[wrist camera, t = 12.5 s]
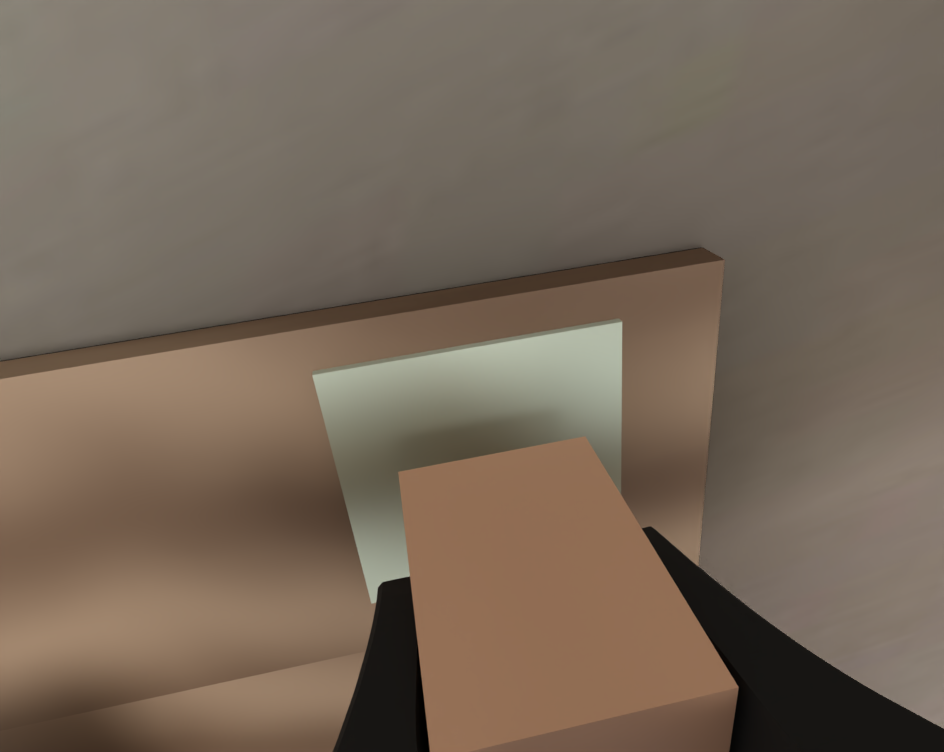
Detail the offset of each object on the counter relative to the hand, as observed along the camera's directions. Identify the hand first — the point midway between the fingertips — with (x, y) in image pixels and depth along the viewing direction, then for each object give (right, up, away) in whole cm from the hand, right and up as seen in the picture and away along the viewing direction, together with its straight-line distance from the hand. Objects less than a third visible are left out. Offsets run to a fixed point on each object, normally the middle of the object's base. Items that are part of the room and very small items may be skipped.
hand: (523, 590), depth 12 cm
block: (0, +1, +2) cm, 2 cm away
